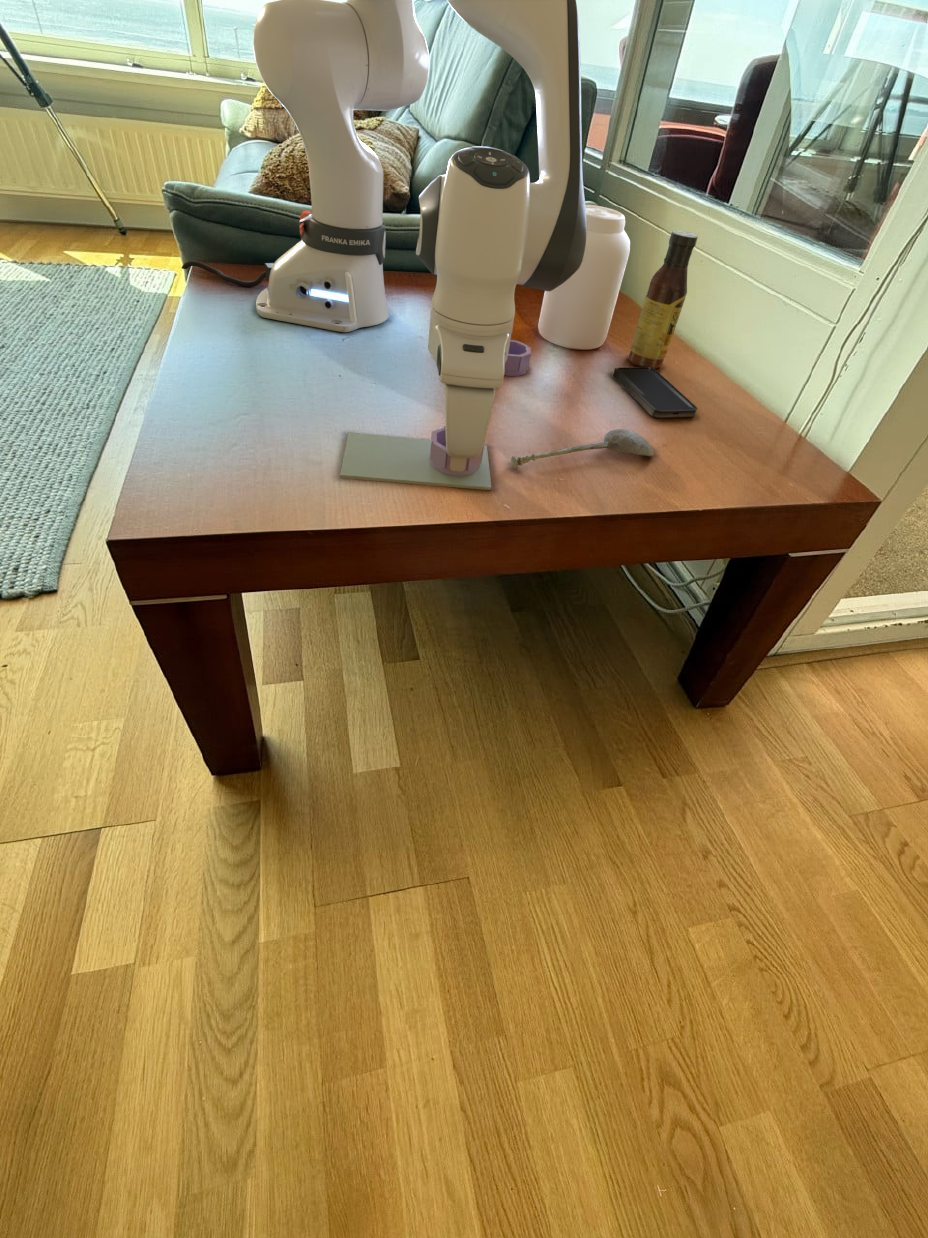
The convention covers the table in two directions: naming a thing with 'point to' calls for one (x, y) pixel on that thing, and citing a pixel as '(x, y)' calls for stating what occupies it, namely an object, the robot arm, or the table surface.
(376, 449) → the mat
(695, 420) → the table surface
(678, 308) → the sauce bottle
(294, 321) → the robot arm
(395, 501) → the table surface
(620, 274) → the white pill bottle
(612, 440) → the soupspoon
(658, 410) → the phone
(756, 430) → the table surface
